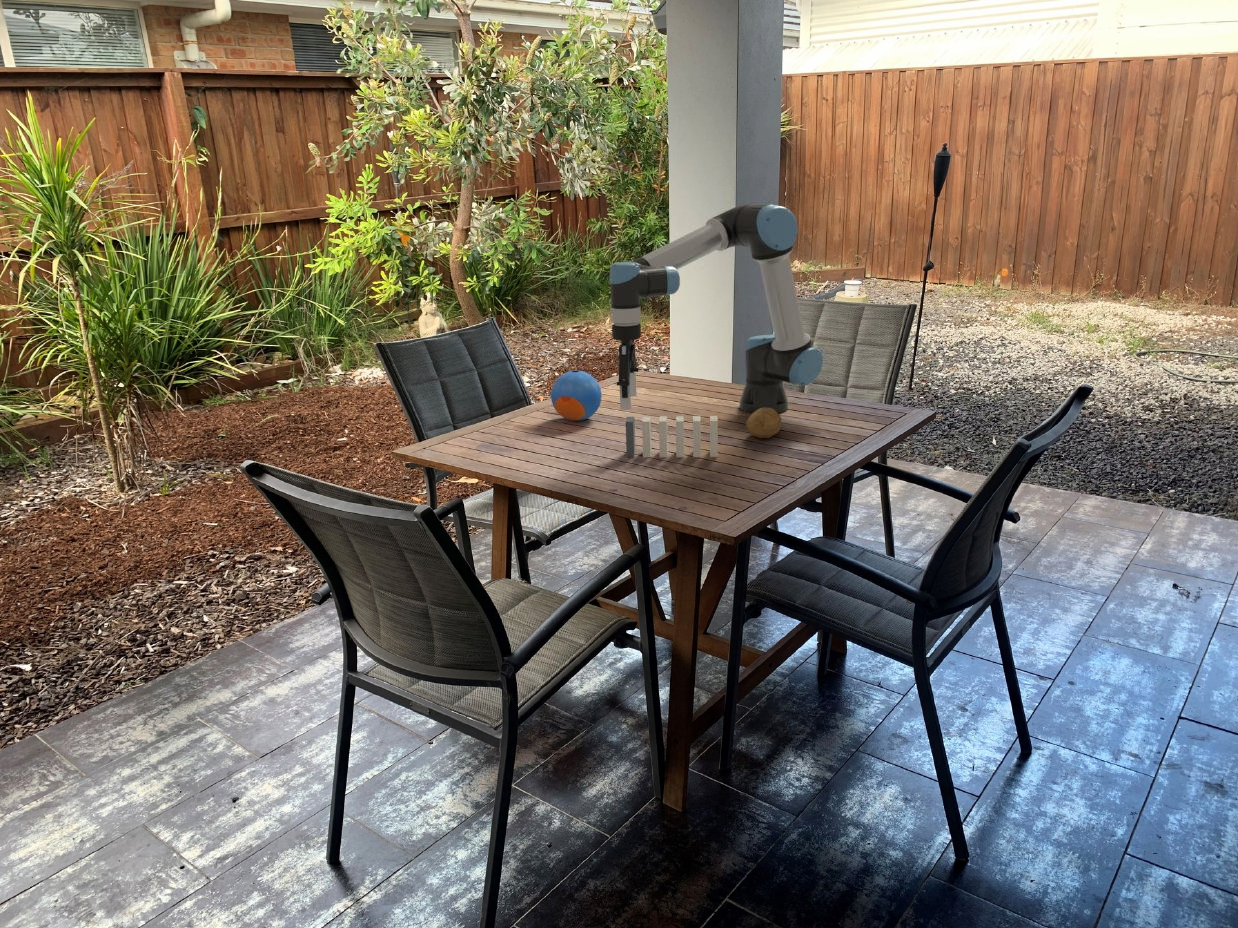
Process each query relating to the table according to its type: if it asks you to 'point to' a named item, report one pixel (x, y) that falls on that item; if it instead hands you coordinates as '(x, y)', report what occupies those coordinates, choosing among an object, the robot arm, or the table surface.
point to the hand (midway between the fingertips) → (628, 402)
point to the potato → (764, 422)
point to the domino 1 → (630, 437)
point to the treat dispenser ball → (576, 395)
